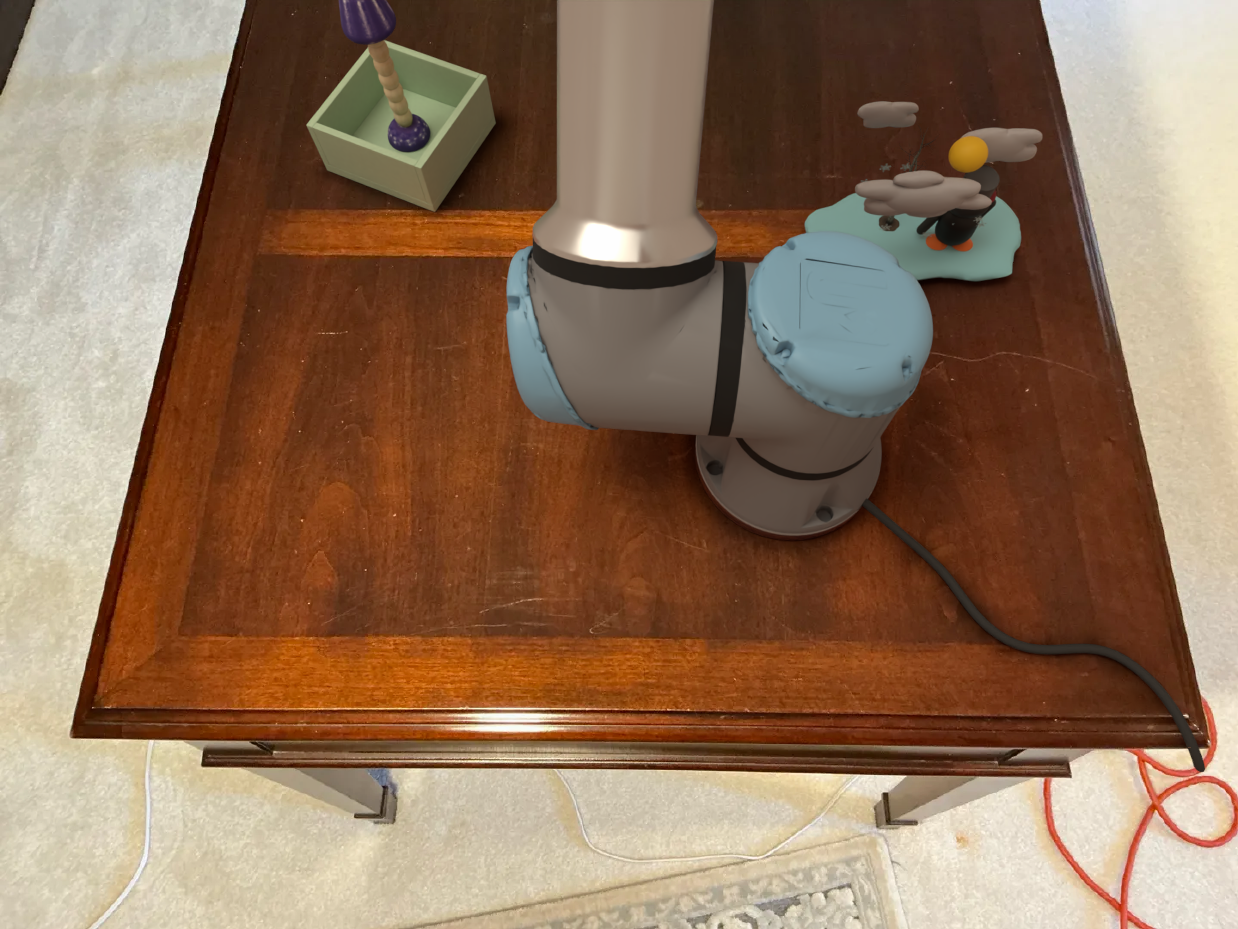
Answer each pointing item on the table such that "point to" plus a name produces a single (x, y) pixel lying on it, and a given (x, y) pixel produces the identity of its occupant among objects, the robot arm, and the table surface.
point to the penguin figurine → (937, 204)
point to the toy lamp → (384, 67)
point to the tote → (362, 115)
